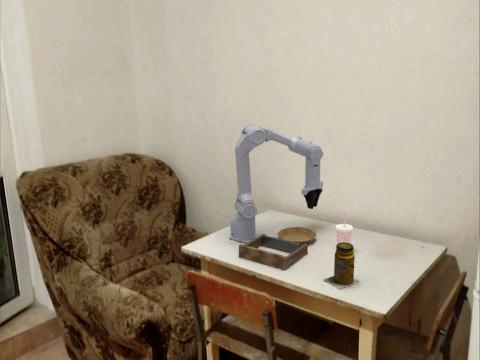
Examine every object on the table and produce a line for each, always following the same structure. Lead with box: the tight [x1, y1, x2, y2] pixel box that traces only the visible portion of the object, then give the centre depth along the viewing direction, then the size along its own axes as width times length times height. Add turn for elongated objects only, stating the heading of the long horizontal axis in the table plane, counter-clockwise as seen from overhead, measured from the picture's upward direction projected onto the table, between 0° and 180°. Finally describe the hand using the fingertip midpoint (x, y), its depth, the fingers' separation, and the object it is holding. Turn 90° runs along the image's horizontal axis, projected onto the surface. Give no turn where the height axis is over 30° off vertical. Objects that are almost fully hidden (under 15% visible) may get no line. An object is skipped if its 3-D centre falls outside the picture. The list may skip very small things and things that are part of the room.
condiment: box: [323, 242, 360, 290], centre depth 141 cm, size 7×8×12 cm
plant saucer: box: [277, 226, 317, 246], centre depth 175 cm, size 15×15×3 cm
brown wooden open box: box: [238, 233, 309, 271], centre depth 161 cm, size 19×16×4 cm
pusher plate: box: [261, 234, 302, 254], centre depth 165 cm, size 16×1×4 cm, turn 54°
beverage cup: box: [335, 213, 354, 245], centre depth 163 cm, size 6×6×14 cm
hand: (312, 207), depth 182 cm, fingers closed
